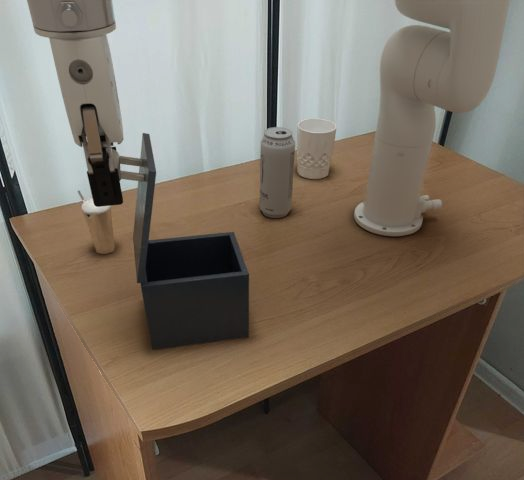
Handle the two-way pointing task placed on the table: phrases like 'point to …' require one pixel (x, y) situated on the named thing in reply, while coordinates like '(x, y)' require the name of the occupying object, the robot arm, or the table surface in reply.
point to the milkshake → (99, 225)
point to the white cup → (315, 147)
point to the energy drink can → (276, 171)
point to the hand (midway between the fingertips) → (108, 190)
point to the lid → (140, 199)
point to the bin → (195, 290)
